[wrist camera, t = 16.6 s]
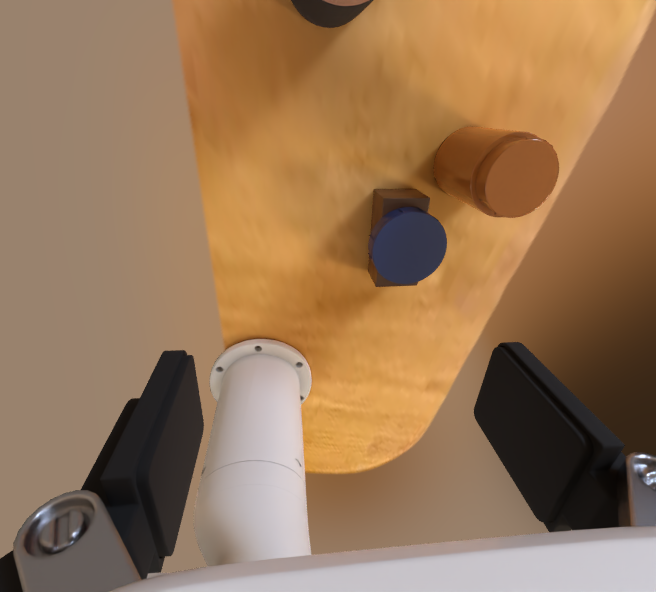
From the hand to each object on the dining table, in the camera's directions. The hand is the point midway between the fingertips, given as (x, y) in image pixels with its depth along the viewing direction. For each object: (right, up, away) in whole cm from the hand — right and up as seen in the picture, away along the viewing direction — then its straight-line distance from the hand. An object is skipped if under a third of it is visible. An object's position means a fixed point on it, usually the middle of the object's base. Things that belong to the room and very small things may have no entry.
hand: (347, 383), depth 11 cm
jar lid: (+7, +7, +22) cm, 24 cm away
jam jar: (+13, +16, +24) cm, 32 cm away
